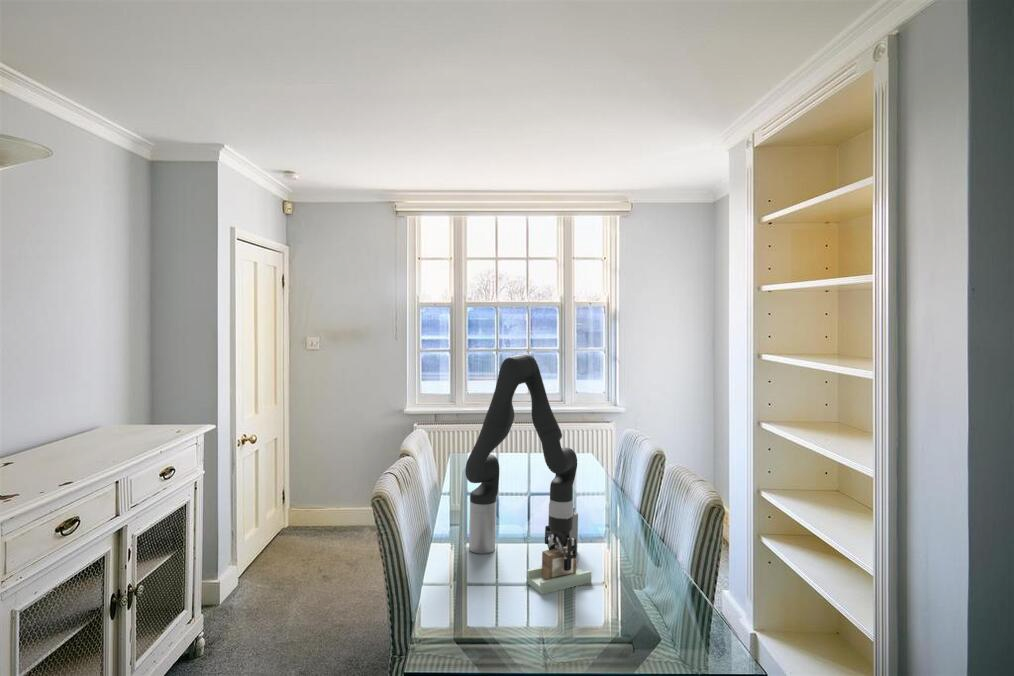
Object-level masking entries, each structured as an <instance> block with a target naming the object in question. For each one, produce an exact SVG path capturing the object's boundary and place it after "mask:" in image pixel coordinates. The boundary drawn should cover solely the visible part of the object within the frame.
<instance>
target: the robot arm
mask: <svg viewBox="0 0 1014 676" xmlns="http://www.w3.org/2000/svg"><path fill="white" fill-rule="evenodd" d="M496 380H497V381H496V384H495V390H494V392H493V395H492V397H491V402H490V404H489V407H488V410H487V412H486V414H485V417H484V421H483V423H482V427H481V429H480V432H479V434H478V437H477V440H476V442H475V444H474V446H473V448H472V450H471V452H470V454H469V456H468V459H467V461H466V464H465V467H464V469H465V472H464V473H465V477H466V480H468V482H470V483H472V484H480V485H478V487H475V489H473V490H472V491H471V492H470V495H469V522H468V523H469V527H468V528H469V533H468V547H469V548H468V549H469V551H470V552H472V553H475V554H479V555H481V554H482V555H486V554H491V553H493V552H495V550H496V538H497V537H496V532H497V531H496V530H497V529H496V528H497V526H496V525H497V522H496V521H497V496H498V494H499V485H500V483H499V482H500V463H499V460H498V458H497V456H496V455H494V454H492V452H493V451H494V450H495V449H496V448H497V447H498V446H499V445H501V443H502V442H503V441H504V440H505V439H506V438H507V437H508V435H509V433H510V431H511V429H512V426H513V423H514V421H515V410H514V405H513V398H514V395H515V393H516V391H517V388H518V386H519V385H521V384H525V385H526V386H527V389H528V392H529V395H530V398H531V399H530V400H531V420H532V424H533V426H534V429H535V431H536V433H537V435H538V437H539V440H540V442H541V448H542V452H543V457H544V462H545V464H546V466H547V468H548V469H549V470H550V472H552V473H554V474H555V476H554V478H553V479H552V480H551V482H550V485H549V486H550V487H549V501H548V502H549V503H548V520H547V521H548V525H545V527H544V528H545V530H544V545H547V549H548V550H551V549H556V548H555V547H556V545H557V546H558V547H560V550H561V552H563V555H564V570H565V571H569V570H571V559H573V558H576V559H577V553H576V539H575V538H570V534H569V532H570V531H571V530H572V528H573V507H574V501H573V499H574V498H573V497H574V495H573V494H574V482H575V478H576V475H577V470H578V457H577V455H576V452H575V451H574V449H572V448H570V447H562V446H561V445H562V444H561V439H562V438H563V433H562V431H561V428H560V426H559V423H558V421H557V419H556V417H555V415H554V413H553V410H552V407H551V405H550V402H549V398H548V395H547V391H546V389H545V385H544V382H543V381H544V380H543V378H542V375H541V371H540V368H539V365H538V362H537V360H536V359H535V358H534V356H532V355H531V354H530V353H521V354H516V355H512V356H508V357H506V358H505V359H503V361H502V363H501V366H500V369H499V373H498V375H497V379H496ZM566 546H567V548H563V547H566ZM566 551H567V554H566ZM572 551H573V554H572Z"/></svg>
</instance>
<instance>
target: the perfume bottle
mask: <svg viewBox="0 0 1014 676" xmlns="http://www.w3.org/2000/svg"><path fill="white" fill-rule="evenodd" d="M575 510H576V507H575V506H573V528H572V530H571V531H570V532H569V534H570V538H575V539H576V550H577V551H578V536H579V535H578V533H579V532H578V530H579V528H578V527H579V513H578V512H575ZM555 548H560V547H558V546H557V545H556V547H555Z"/></svg>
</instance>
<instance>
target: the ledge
mask: <svg viewBox="0 0 1014 676" xmlns="http://www.w3.org/2000/svg"><path fill="white" fill-rule="evenodd" d="M592 575H593V574H592V571H591V570H586V571H584V570H583V569H581V568H580V567H578V560H577V559H576V574H572V575H568V576H563V577H559V578H554V579H550V580H546V579H544V578H543V577H542V566H537V567H533V568H528V569H527V570H526V583H527V584H528V585H529V586H530V587H532V588H533V589H534V590H535V591H537V592H538V593H539V594H540V595H545V594H549V593H550V592H551V593H555V592H558V590H559V591H563V590H567V589H571V588H570V587H572V588H575V587H574V586H576V587H579V585H580V586H584V585H588V584H592ZM587 583H588V584H587ZM583 584H584V585H583ZM566 588H567V589H566ZM562 589H563V590H562ZM554 591H555V592H554Z"/></svg>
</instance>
